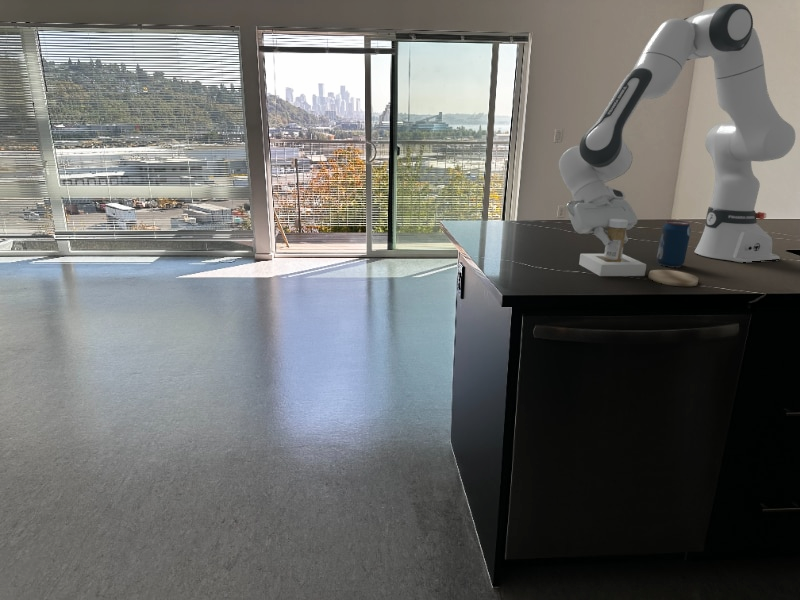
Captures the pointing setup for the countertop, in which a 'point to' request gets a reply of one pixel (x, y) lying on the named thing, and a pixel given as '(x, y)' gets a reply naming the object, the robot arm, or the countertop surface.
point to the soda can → (673, 243)
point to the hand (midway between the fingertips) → (616, 243)
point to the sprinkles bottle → (615, 240)
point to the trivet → (673, 278)
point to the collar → (612, 265)
